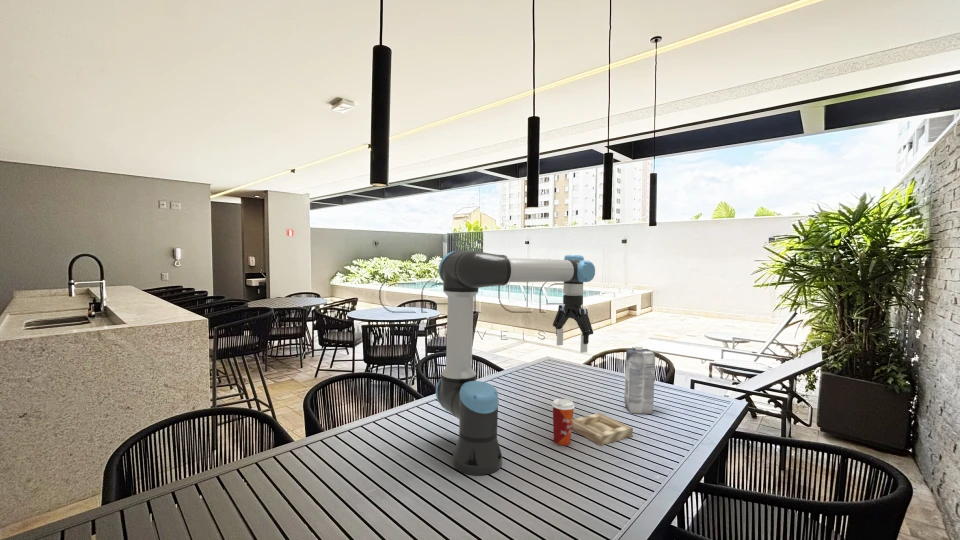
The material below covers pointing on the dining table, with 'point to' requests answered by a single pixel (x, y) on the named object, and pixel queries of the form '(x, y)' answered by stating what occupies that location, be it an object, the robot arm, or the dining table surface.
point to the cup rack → (601, 428)
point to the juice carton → (639, 380)
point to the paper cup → (562, 421)
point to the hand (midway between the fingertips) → (571, 348)
